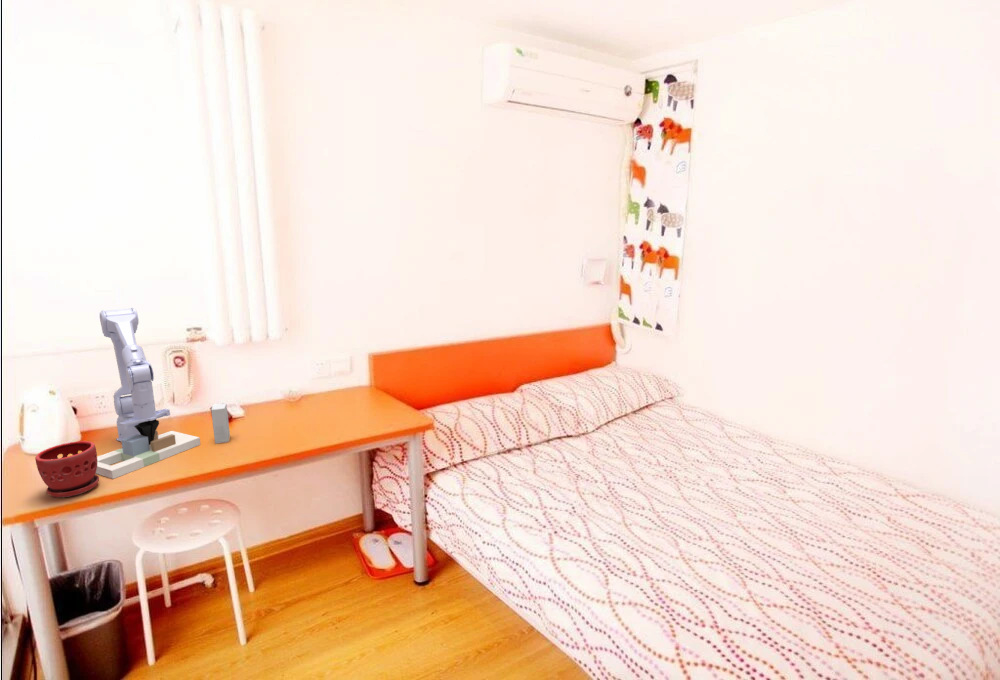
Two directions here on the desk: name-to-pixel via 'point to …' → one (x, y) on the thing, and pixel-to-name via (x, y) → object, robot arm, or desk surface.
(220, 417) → the skincare box
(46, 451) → the plant pot
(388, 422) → the desk surface
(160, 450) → the deck
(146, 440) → the block
